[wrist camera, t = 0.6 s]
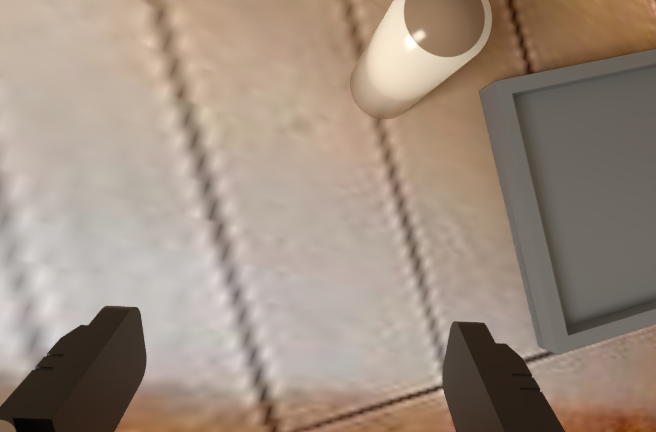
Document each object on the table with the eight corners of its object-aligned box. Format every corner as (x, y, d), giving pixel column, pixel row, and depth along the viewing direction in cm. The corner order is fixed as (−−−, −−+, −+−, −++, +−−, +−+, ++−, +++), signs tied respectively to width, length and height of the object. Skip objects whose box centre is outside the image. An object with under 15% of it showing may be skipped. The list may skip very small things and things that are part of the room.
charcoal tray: (478, 91, 37) (494, 81, 35) (697, 46, 40) (726, 34, 38) (538, 346, 37) (558, 354, 35) (751, 280, 41) (782, 283, 38)
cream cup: (342, 58, 35) (385, -28, 23) (407, 46, 36) (479, -43, 24) (358, 125, 35) (409, 73, 24) (422, 111, 36) (502, 55, 24)
